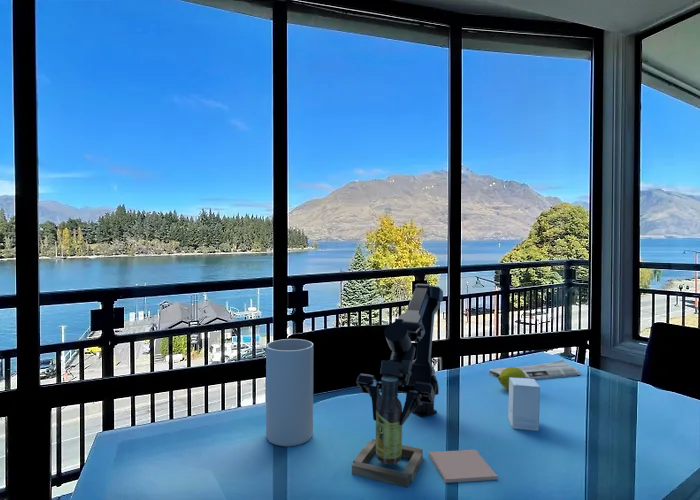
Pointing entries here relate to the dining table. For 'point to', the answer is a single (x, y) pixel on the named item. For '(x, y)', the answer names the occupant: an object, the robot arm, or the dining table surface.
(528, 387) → the supplement box
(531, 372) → the newspaper
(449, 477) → the tile
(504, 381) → the lemon
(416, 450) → the bottle holder
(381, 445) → the sauce bottle
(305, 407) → the cylinder vase
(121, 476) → the dining table surface
